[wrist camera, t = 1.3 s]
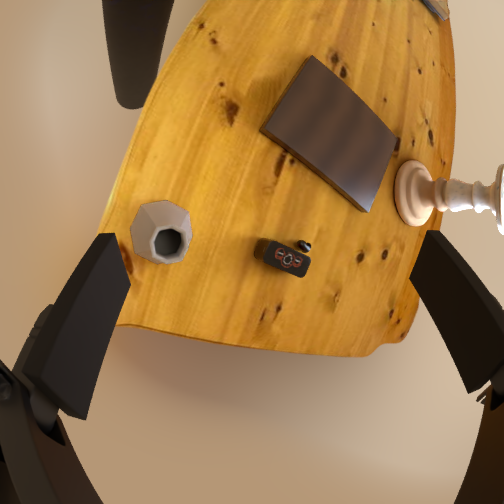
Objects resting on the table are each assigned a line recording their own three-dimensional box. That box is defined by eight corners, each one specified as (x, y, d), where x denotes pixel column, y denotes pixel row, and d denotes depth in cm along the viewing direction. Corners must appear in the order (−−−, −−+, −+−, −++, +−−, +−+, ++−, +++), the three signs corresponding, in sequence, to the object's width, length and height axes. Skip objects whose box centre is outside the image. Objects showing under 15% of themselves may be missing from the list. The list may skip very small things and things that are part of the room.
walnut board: (258, 130, 33) (263, 127, 31) (306, 58, 33) (312, 54, 32) (361, 212, 41) (368, 212, 39) (391, 139, 41) (397, 138, 40)
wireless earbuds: (295, 275, 38) (308, 281, 35) (250, 256, 35) (261, 261, 32) (308, 243, 38) (322, 247, 35) (265, 221, 35) (277, 223, 32)
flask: (126, 259, 29) (119, 284, 20) (135, 195, 29) (131, 191, 20) (187, 267, 32) (206, 292, 23) (197, 204, 32) (220, 205, 22)
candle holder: (386, 210, 43) (494, 222, 24) (401, 148, 42) (500, 140, 24) (420, 235, 48) (510, 252, 29) (433, 179, 47) (518, 183, 29)
